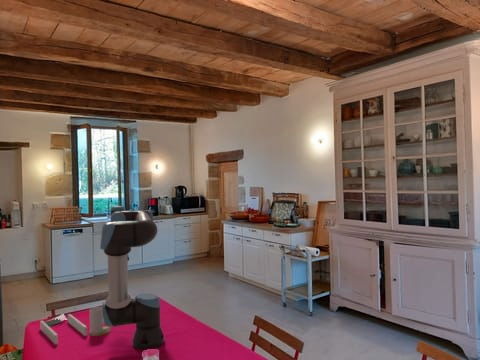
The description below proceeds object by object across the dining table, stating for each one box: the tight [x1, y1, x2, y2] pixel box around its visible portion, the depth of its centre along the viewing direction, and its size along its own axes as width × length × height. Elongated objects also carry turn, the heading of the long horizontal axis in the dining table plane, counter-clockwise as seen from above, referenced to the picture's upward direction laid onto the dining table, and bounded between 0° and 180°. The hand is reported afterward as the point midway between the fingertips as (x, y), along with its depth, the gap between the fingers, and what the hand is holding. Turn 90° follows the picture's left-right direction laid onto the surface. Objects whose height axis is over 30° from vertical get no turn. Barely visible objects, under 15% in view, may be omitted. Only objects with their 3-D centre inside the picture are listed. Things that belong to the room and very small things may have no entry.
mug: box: [89, 306, 105, 334], centre depth 199 cm, size 10×7×12 cm, turn 151°
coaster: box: [88, 326, 112, 337], centre depth 198 cm, size 11×11×1 cm
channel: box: [39, 313, 88, 345], centre depth 198 cm, size 26×15×4 cm, turn 42°
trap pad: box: [44, 318, 64, 327], centre depth 212 cm, size 8×8×1 cm
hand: (118, 270), depth 212 cm, fingers open, 13 cm apart
